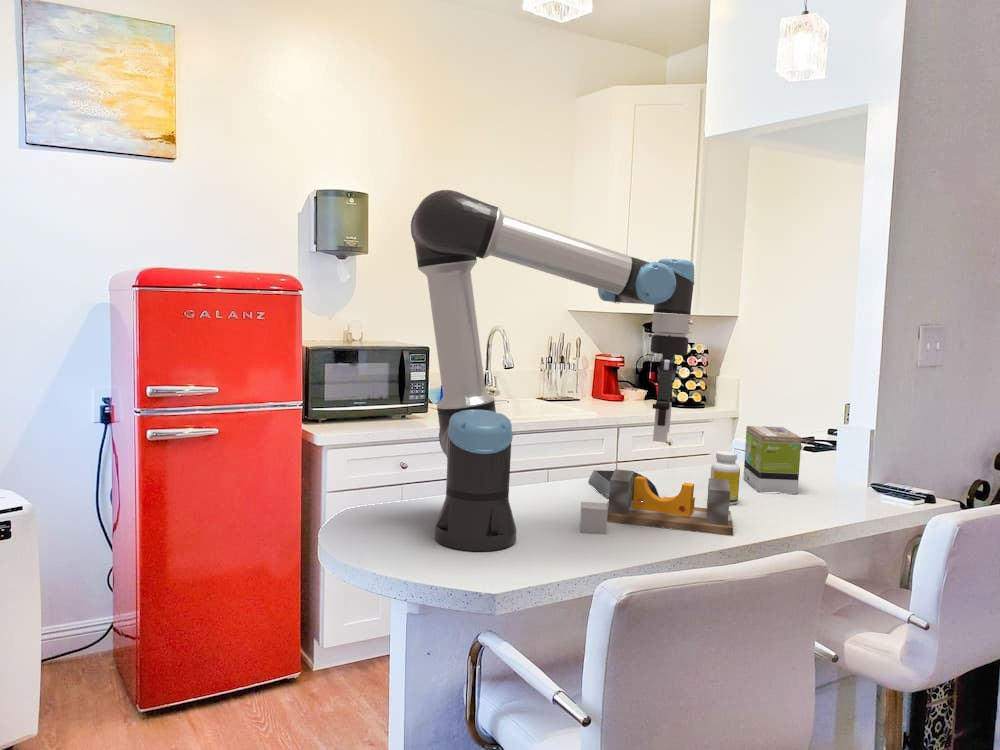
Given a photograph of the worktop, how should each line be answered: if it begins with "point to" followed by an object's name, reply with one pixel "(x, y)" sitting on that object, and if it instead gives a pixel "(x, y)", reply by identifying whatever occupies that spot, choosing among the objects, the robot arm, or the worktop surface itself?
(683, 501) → the pipe clamp
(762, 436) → the tea box
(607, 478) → the dark piece
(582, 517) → the block
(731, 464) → the pill bottle
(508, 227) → the robot arm
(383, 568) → the worktop surface
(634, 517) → the rail board
